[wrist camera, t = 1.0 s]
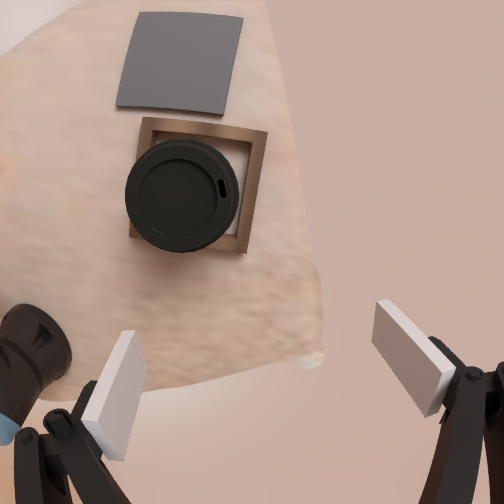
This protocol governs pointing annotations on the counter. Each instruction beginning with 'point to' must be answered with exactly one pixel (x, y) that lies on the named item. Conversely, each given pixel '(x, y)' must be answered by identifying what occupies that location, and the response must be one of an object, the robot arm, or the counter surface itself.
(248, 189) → the walnut collar
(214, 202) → the coffee cup
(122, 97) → the trivet mat
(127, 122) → the counter surface
